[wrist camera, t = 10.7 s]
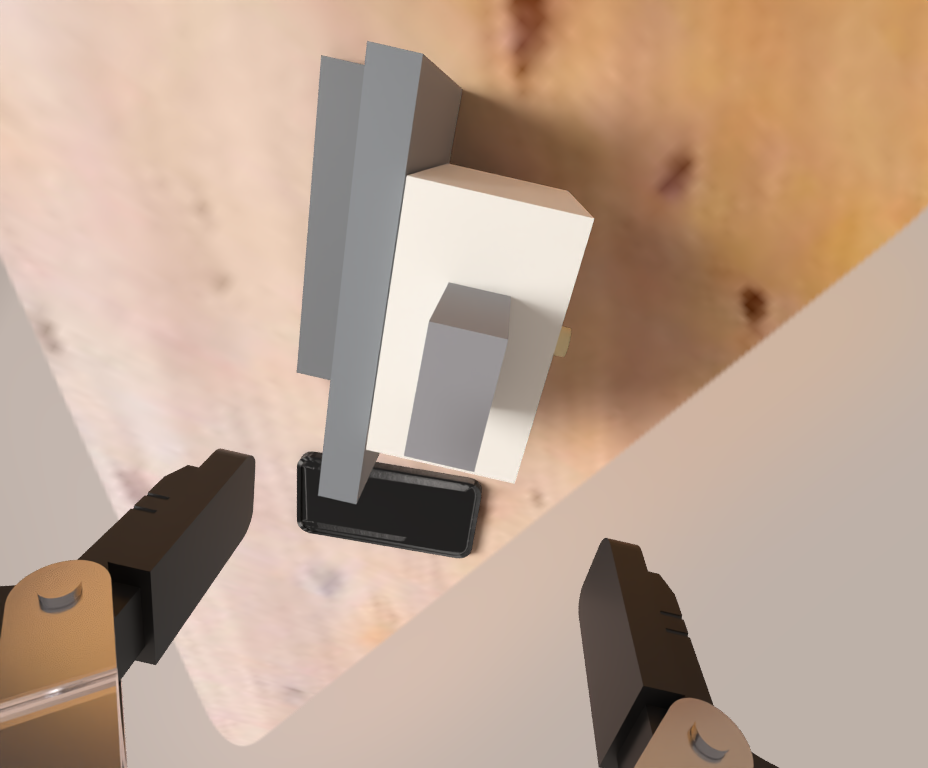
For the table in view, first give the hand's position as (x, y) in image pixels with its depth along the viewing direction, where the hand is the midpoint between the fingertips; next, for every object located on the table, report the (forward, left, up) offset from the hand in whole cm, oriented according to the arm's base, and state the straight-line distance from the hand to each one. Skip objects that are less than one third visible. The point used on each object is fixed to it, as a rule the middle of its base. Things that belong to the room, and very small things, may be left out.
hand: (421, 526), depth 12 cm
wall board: (-5, 0, -26) cm, 26 cm away
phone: (-4, -21, -27) cm, 34 cm away
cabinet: (0, 0, -23) cm, 23 cm away
